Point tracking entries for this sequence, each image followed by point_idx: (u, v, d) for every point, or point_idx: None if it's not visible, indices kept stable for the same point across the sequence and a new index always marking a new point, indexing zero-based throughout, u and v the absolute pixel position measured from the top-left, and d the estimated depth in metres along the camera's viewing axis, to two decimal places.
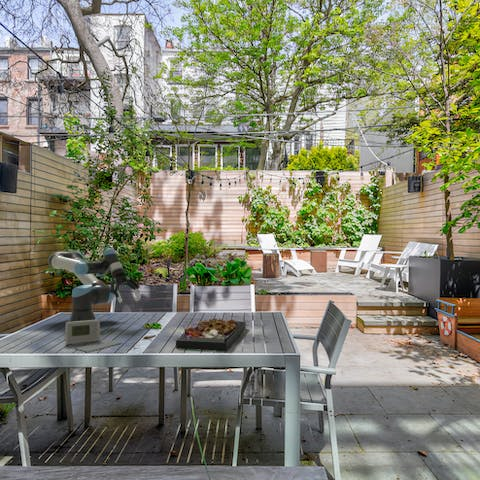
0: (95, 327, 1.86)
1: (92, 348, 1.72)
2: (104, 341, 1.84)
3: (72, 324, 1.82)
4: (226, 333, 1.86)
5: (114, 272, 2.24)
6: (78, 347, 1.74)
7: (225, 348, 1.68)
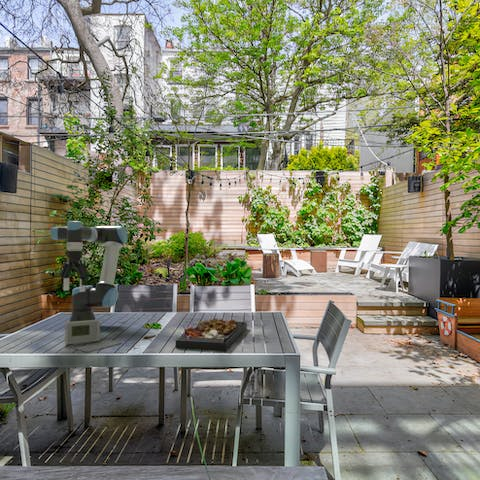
0: (95, 327, 1.86)
1: (92, 348, 1.72)
2: (104, 341, 1.84)
3: (72, 324, 1.82)
4: (226, 333, 1.86)
5: None
6: (78, 347, 1.74)
7: (224, 348, 1.67)
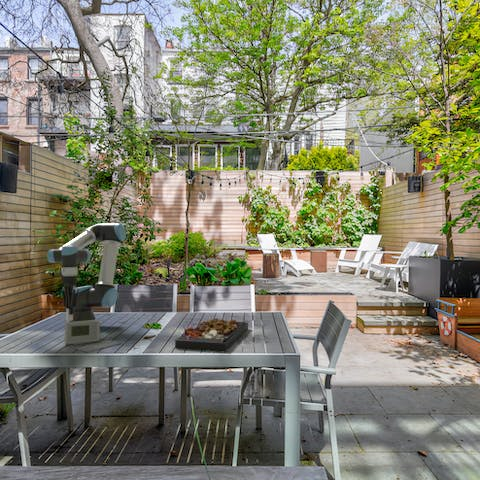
0: (95, 327, 1.85)
1: (92, 348, 1.72)
2: (104, 341, 1.84)
3: (72, 324, 1.82)
4: (226, 333, 1.85)
5: None
6: (78, 347, 1.74)
7: (224, 349, 1.67)
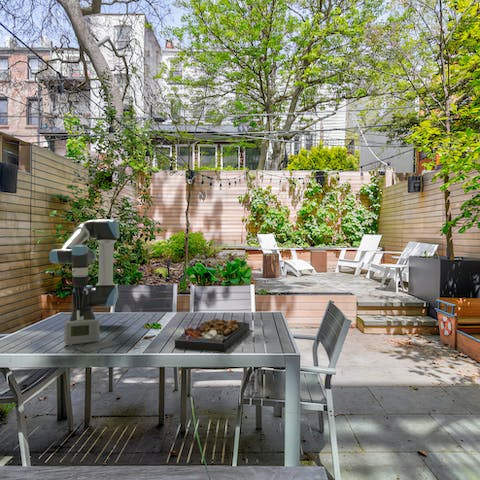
0: (94, 327, 1.84)
1: (92, 348, 1.72)
2: (104, 341, 1.84)
3: (71, 324, 1.80)
4: (226, 334, 1.84)
5: None
6: (78, 347, 1.74)
7: (223, 349, 1.66)
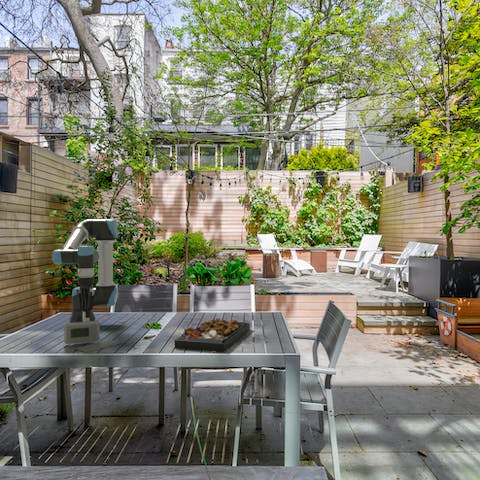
0: (95, 329, 1.81)
1: (92, 348, 1.72)
2: (104, 341, 1.84)
3: (71, 327, 1.76)
4: (227, 334, 1.84)
5: None
6: (78, 347, 1.74)
7: (222, 349, 1.66)
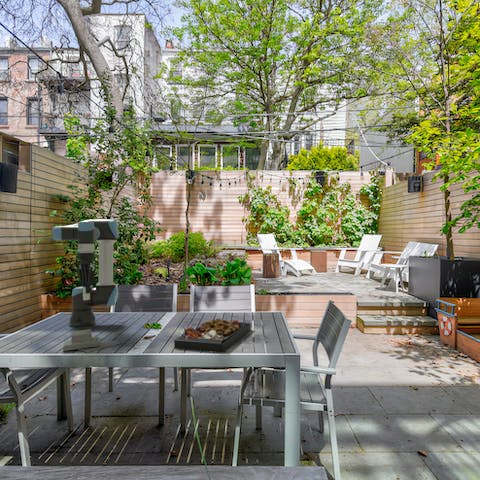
0: None
1: (92, 348, 1.72)
2: (104, 341, 1.84)
3: (71, 349, 1.70)
4: (227, 334, 1.84)
5: None
6: None
7: (222, 349, 1.66)
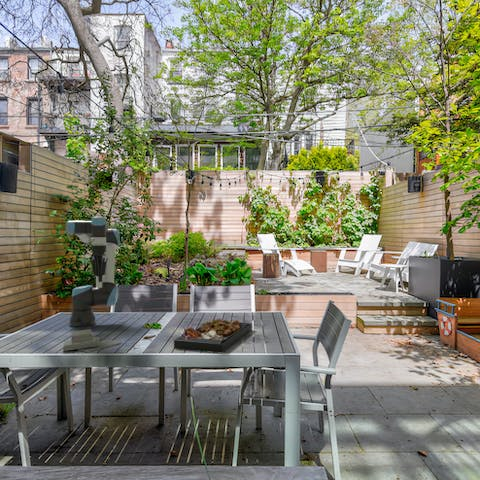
0: None
1: (92, 348, 1.72)
2: (104, 341, 1.84)
3: (71, 349, 1.70)
4: (227, 334, 1.83)
5: None
6: None
7: (221, 350, 1.65)
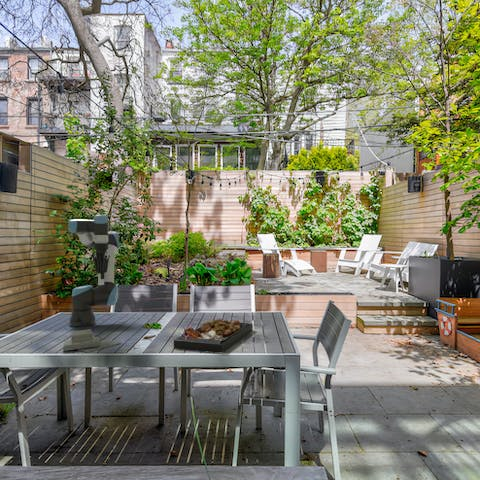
0: None
1: (92, 348, 1.72)
2: (104, 341, 1.84)
3: (71, 349, 1.70)
4: (227, 334, 1.83)
5: None
6: None
7: (220, 350, 1.65)
